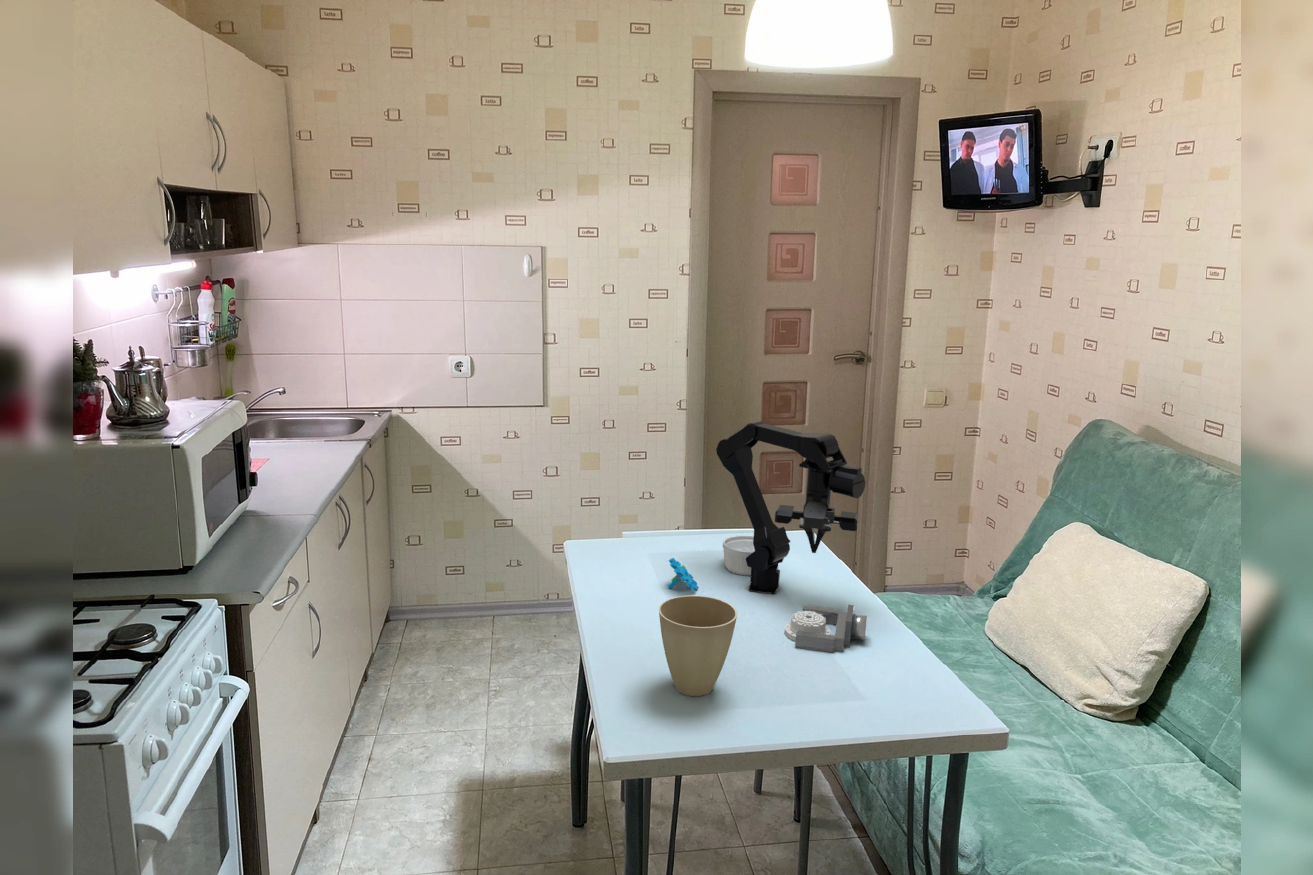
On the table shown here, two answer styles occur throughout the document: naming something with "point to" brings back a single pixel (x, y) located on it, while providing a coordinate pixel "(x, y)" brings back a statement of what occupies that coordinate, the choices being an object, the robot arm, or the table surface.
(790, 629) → the mechanical component
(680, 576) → the gear
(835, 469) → the robot arm
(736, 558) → the ramekin
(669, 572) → the table surface
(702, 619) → the plant pot
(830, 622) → the clevis bracket
